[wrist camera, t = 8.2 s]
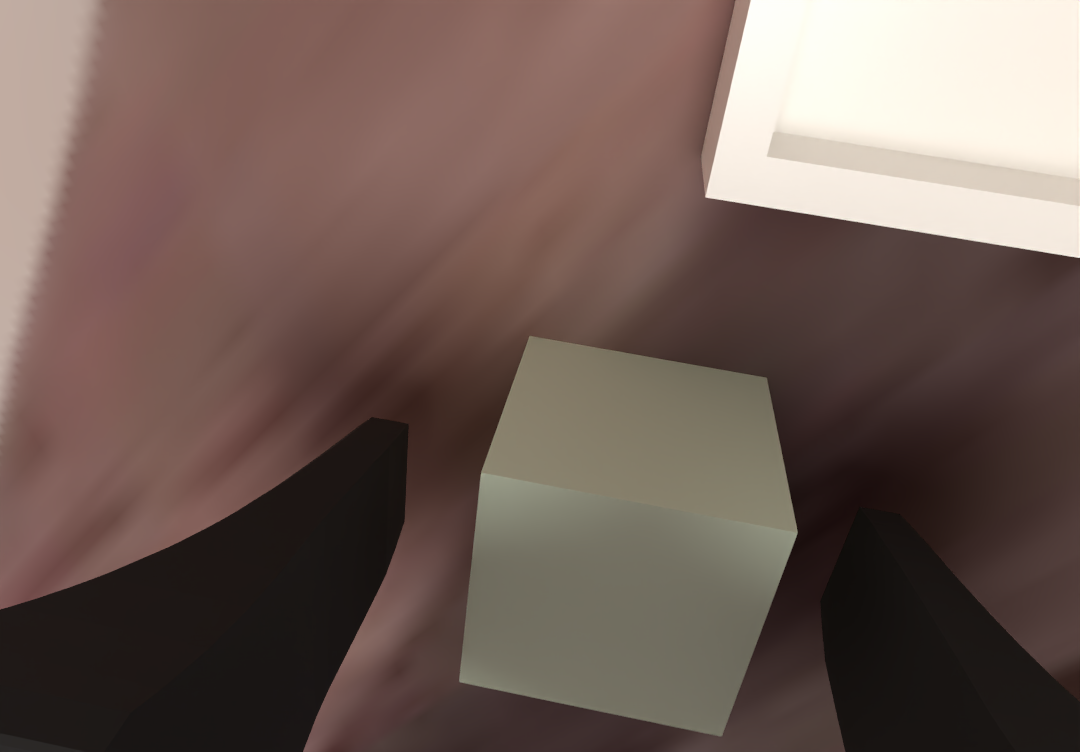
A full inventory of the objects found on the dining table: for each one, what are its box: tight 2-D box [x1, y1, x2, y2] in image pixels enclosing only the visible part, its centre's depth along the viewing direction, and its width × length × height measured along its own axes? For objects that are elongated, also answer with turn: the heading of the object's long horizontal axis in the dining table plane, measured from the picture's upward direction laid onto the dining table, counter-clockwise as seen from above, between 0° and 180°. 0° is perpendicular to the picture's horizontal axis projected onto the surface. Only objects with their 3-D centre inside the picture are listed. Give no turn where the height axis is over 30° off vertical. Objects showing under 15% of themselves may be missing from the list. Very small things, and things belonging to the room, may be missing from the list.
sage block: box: [459, 336, 798, 737], centre depth 13 cm, size 4×4×4 cm
